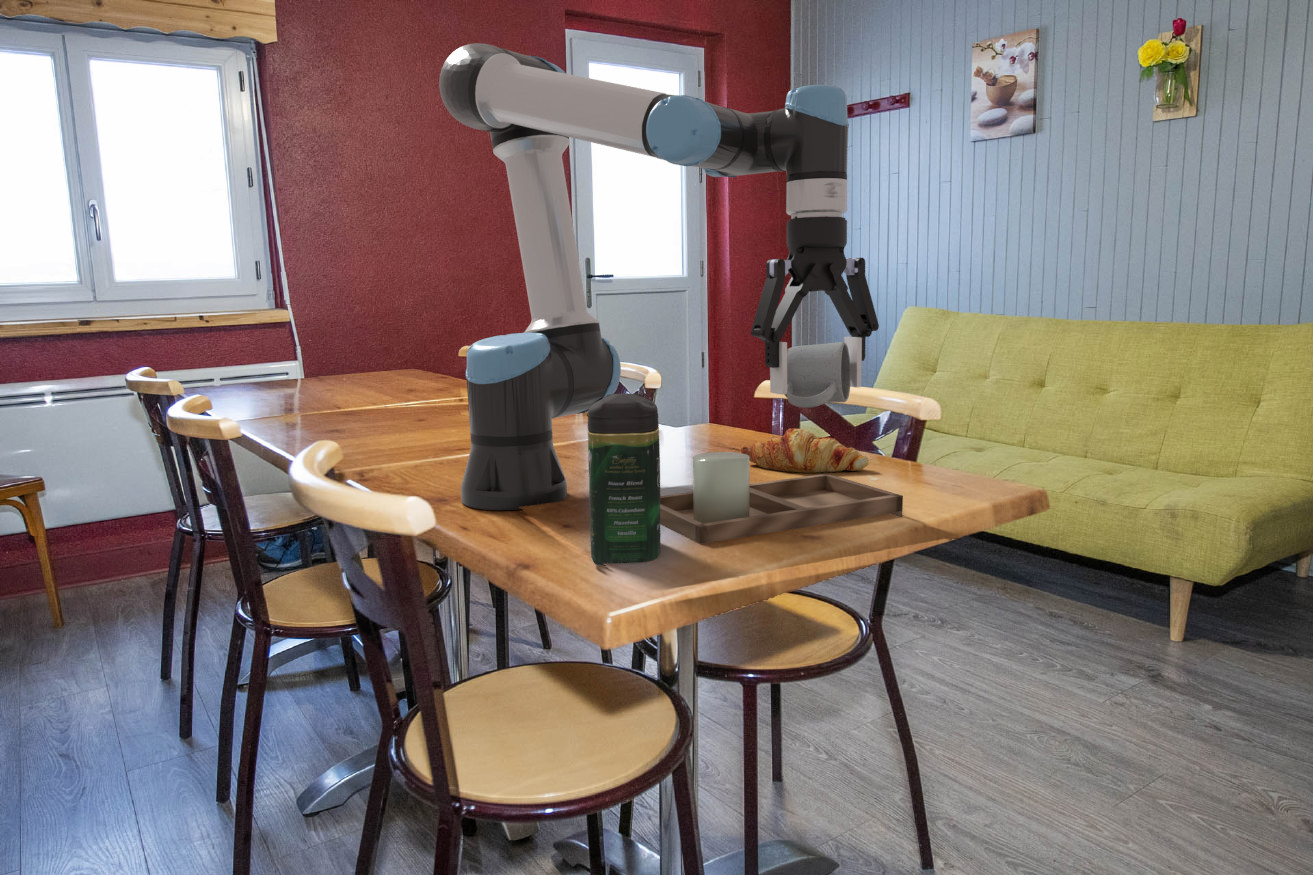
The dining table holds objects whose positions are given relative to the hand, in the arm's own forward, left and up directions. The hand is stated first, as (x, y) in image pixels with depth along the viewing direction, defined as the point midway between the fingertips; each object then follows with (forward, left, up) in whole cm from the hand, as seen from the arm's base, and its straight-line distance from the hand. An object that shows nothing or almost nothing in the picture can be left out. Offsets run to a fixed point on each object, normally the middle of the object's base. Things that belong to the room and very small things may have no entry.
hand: (816, 389), depth 121 cm
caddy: (-8, -1, -16) cm, 18 cm away
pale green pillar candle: (-15, -1, -15) cm, 21 cm away
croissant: (+15, +24, -17) cm, 33 cm away
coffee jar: (-31, -7, -16) cm, 35 cm away
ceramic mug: (-1, -1, -2) cm, 2 cm away
